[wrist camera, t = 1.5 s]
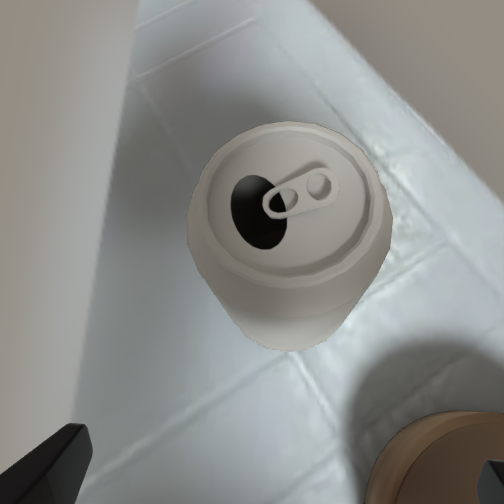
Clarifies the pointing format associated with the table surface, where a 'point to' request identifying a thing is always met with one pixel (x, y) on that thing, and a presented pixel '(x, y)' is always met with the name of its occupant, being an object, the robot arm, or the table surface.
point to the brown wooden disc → (437, 459)
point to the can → (289, 231)
